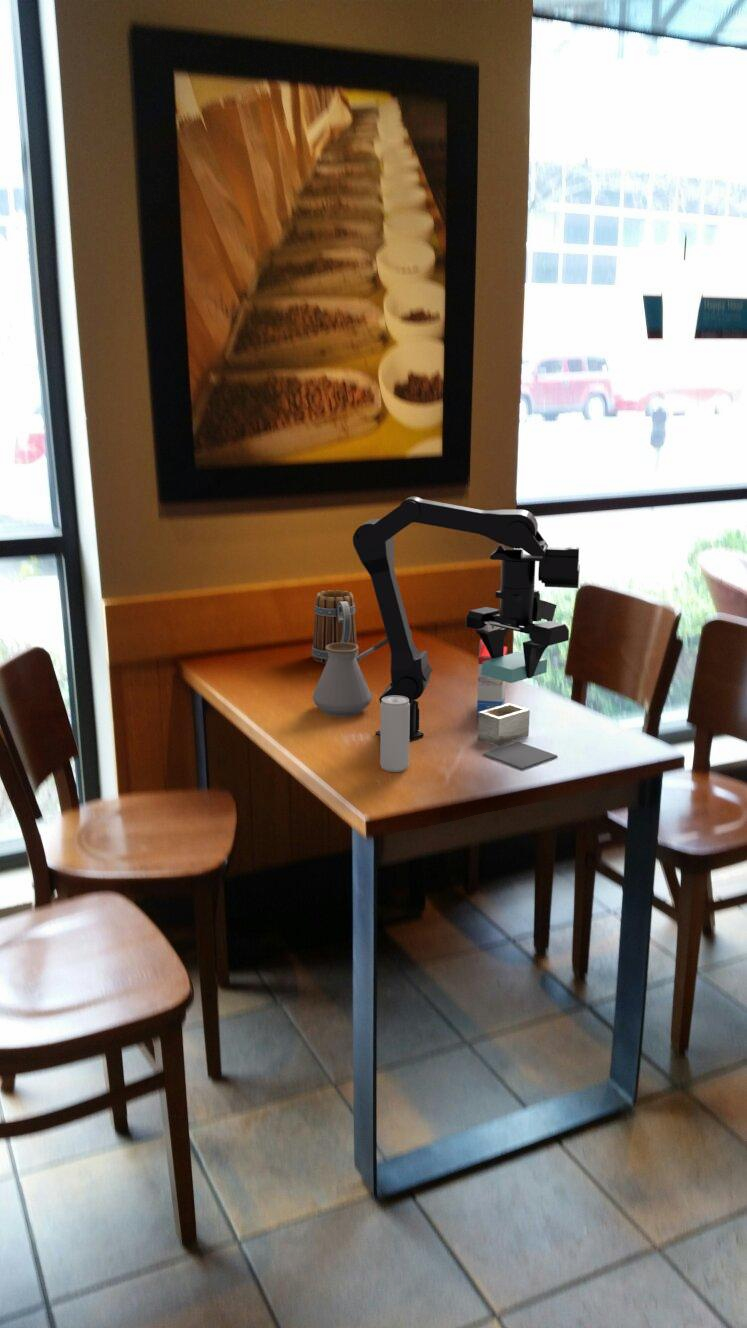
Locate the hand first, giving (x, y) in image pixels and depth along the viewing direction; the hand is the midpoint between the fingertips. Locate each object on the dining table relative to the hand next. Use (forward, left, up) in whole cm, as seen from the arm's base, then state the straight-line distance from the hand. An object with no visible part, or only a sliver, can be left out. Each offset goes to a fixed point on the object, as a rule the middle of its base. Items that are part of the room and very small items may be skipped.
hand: (514, 673), depth 188 cm
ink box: (+12, +16, -13) cm, 24 cm away
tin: (+2, +4, -13) cm, 14 cm away
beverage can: (-23, +5, -13) cm, 27 cm away
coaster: (-3, -5, -13) cm, 14 cm away
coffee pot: (-6, +33, -13) cm, 36 cm away
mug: (+10, +61, -13) cm, 63 cm away
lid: (0, 0, +1) cm, 1 cm away
